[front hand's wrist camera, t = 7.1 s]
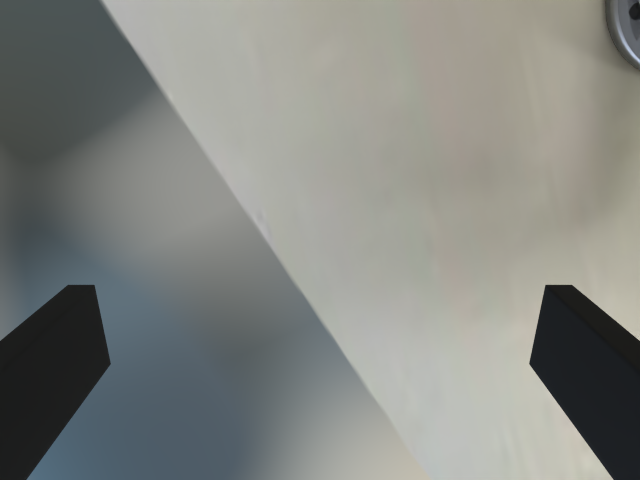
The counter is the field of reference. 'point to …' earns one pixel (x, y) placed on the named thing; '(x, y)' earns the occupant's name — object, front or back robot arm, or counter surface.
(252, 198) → the counter surface
